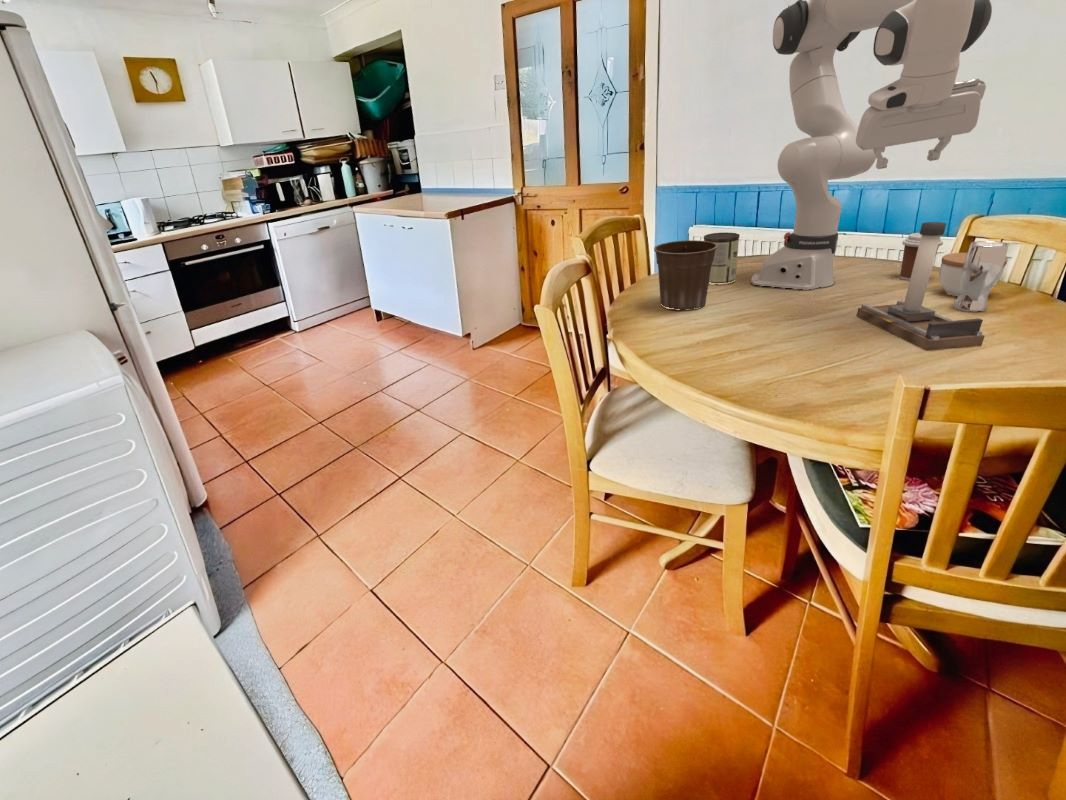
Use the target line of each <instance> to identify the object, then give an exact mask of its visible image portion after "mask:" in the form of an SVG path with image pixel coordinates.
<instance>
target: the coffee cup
mask: <svg viewBox="0 0 1066 800" xmlns="http://www.w3.org/2000/svg"><path fill="white" fill-rule="evenodd" d="M920 239H921V234H920V232H913V233H910V234H909V235H908V237H907V238H906V239H903V240H902V245H903V246H904V247H903V252H902V253H903V255H902V261H901V262H902V263H901V268H900V274H899V275H900V276H899V279H901V280H903V281H904V280H905V281H910V278H911V274H912V270H913V267H914V263H915V259H916V255H917V251H918V247H919V243H920ZM943 244H944V241H943V240H942V239H941V238H940V240H939V244H938V248H937V251H936V255H937V254H938V250H939V247H941V246H943ZM936 255H935V257H936Z"/></svg>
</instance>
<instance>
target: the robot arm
mask: <svg viewBox="0 0 1066 800" xmlns="http://www.w3.org/2000/svg"><path fill="white" fill-rule="evenodd" d="M992 12H993V10H992V3H991V1H990V0H797V1H795V2H794V3H793V4H791V5H789V6H788V7H786V8H784V9H783V10H782V11H781V12H780V13H779V14H778V16H777V17H776V19H775V21H774V24H773V28H772V29H773V30H772V46H773V49H774V50H775V51H776V53H777V54H778V55H784V56H785V55H787V56H788V55H794V54H796V55H795V56H794V57H793V59H792V61H791V63H790V66H789V73H788V74H789V78H788V82H789V91H790V93H789V94H790V98H791V99H790V101H791V105H792V111H793V115H794V122H795V125H796V127H797V129H798V130H800V131H801V132H802V133H804V134H806V135H808V136H810V137H804V138H801V139H798V140H796V141H793V142H790V143H788V144H787V145H786V146H784V148H783V149H782V150H781V153H780V154H779V156H778V160H777V171H778V174H779V176H780V178H781V180H783V181H784V182H785V183H787V184H788V186H789V187H790V189H791V190H792V193H793V196H794V201H795V217H794V224H793V225H794V226H793V232H789V231H788V232H785V234H784V235H783V239H784V242H783V247H781V248H779V249H778V250H776V251H775V252H774V253H772V254H770V255H769V256H767V257H766V258H765V259H764V260H763V262H762V263H761V266H760V269H759V272H757V273H755V274H753V275H752V276H751V278H750V283H751V282H752V283H753V284H755V285H763V286H773V287H772V288H774V287H783V288H782V289H785V288H793V289H792V290H797V289H803V290H802V291H810V290H809V289H811V290H814V289H819V287H821V288H826V287H830V286H832V285H834V284H835V277H834V258H835V257H834V255H835V253H836V250H837V246H838V243H839V233H838V229H839V228H838V227H839V225H840V218H841V212H842V203H841V201H840V200H839V199H838V198H837V197H835V196H834V195H832V194H831V193H830V191H829V184H828V182H829V181H830V180H831V181H832V180H840V179H849V178H852V177H855V176H858V175H861V174H864V173H866V172H868V171H869V169H871V168H872V167H873V165H874V164H875V161H876V164H875V168H876V169H877V170H881V169H887V167H888V163H889V159H888V158H887V157H883V154H882V153H885V150H886V148H887V147H892V146H897V145H899V146H900V145H904V144H910V143H915V142H922V141H929V140H934V139H937V140H938V141H939V142H938V143H937V144H936V145H935V146H934V148H933V149H929V150H928V154H927V156H926V157H927V158H926V159H927V160H928V161H929V162H932V161H938V160H939V159H940V157H941V153H942V151H943V150H945V148H946V147H947V146H948V145H949V144H950V143H951V141H952V137H953V136H958V135H963V134H968V133H971V132H972V131H973V130H974V129H975V128H976V127H977V123H978V120H979V116H980V110H981V101H982V99H983V97H984V95H985V91H986V89H987V86H986V83H985V81H983V80H980V78H974V79H973V78H972V79H970V80H965V81H964V80H963V81H962V80H961V81H957V80H956V79H957V75H958V73H959V72H958V71H959V68H960V55H961V53H963V52H966V51H967V50H968V49H969V48H971V47H972V45H974V44H975V43H976V42H977V41H978V40H979V38H980V37H981V36H982V35H983V34H984V32H985V31H986V29H987V27H988V26H989V24H990V21H991V19H992V14H993V13H992ZM875 28H877V30H876V33H875V36H874V40H873V41H874V42H873V51H872V52H873V55H874V57H875V59H876V60H877V61H878V62H879V63H880V64H881V65H883V66H891V67H892V66H898V65H899V66H900V65H902V66H903V68H902V71H901V73H900V77H899V79H897V80H895V81H893V82H891V83H889V84H887V85H885V86H882V87H881V88H879V89H876V90H875V91H873V92H871V93H870V94H869V96H868V99H867V102H868V105H870V106H868V108H866V110H865V111H864V112H863V114H862V116H861V118H860V122H859V125H858V126H857V124H856V123H855V122H854V121H853V119H852V118H851V116H850V115H849V114H848V113H847V111H846V109H845V106H844V104H843V99H842V96H841V92H840V87H839V83H838V77H837V73H836V70H835V66H834V55H835V52H836V51H838V52H844V51H845V50H847V48H848V47H849V44H850V43H852V42H853V41H854V40H855V39H856V38H857V37H858V35H860V33H861V32H862V31H867V30H872V29H875ZM956 81H957V82H956ZM753 284H752V285H753Z"/></svg>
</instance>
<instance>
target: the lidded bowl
mask: <svg viewBox="0 0 1066 800" xmlns="http://www.w3.org/2000/svg"><path fill="white" fill-rule="evenodd" d="M966 254H967V252H954V253H949V254H948V253H947V254H945V255H942V257H941V264H940V268H939V272H938V273H939V274H938V281H939V283H940V286H941V288H943V290H944V291H945V293H946V294H947V295H949V296H951V295H952V297H956V296H957V297H958V295H959V292H960V287H961V276H962V268H963V264H964V260H965V257H966ZM1007 264H1008V258H1005V261H1004V264H1003V267H1002V270H1001V272H1000V274H999V276H998V277H997V279H996V281H995V283H994V284H993V286H992V288H994V287H995V286H996V284H997V283H998V282H999V280H1000V278H1001V276H1002V275H1003V272H1004V269H1005V267H1006V265H1007ZM957 297H956V298H957Z"/></svg>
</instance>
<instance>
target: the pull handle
mask: <svg viewBox="0 0 1066 800" xmlns="http://www.w3.org/2000/svg"><path fill="white" fill-rule="evenodd" d="M946 227H947V223H946V222H940V221H929V222H927V221H925V222H923V223H921V227H920V231H919V233H920V234H921V239H920V243H919V247H918V251H917V255H916V259H915V263H914V267H913V270H912V274H911V278H910V280H909V282H908V287H907V291H906V294H905V299H904V305H896V306H889V308H888V312H887V313H888V314H890V315H892V316H894V317H897V318H899V319H901V320H903V321H906V322H911V321H921V320H931V319H933V318H934V315H935V314H936V311H935V310H933V309H930V308H928V307H925V306H924V305H923V302H924V299H925V294H926V290H927V288H928V284H929V279H930V276H931V274H932V270H933V266H934V263H935V262H934V261H935V258H936V256H935V255H937V253H936V251H937V252H938V250H937V248H938V244H939V240H940V239H941V237H942V235H944V234H945V230H946ZM938 249H939V248H938ZM922 305H923V306H922Z"/></svg>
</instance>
